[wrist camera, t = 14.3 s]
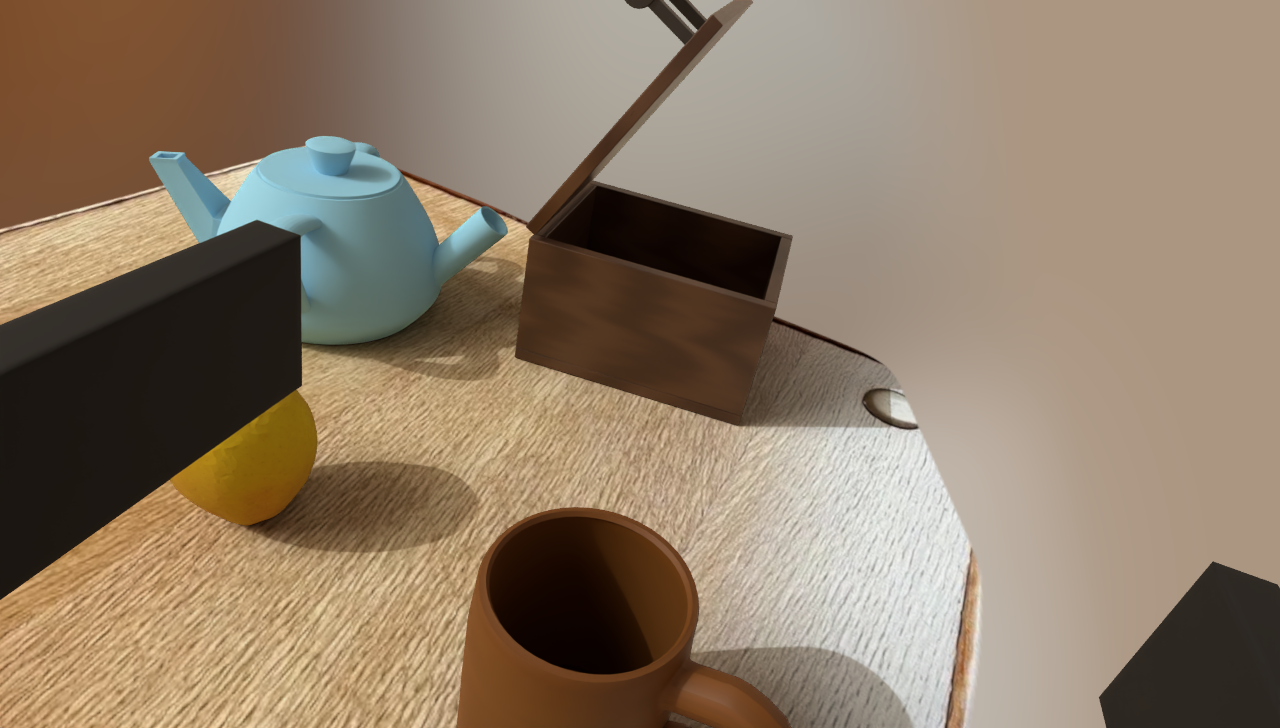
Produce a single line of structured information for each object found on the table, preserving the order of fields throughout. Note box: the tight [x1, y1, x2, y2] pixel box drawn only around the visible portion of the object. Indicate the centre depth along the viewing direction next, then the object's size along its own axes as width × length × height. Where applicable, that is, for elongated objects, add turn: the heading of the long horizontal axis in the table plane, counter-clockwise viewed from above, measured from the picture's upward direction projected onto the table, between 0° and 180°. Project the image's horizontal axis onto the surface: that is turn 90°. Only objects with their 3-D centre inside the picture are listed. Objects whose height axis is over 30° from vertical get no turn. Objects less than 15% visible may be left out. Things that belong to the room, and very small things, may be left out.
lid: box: [526, 0, 753, 235], centre depth 49 cm, size 16×13×6 cm
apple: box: [170, 390, 317, 525], centre depth 36 cm, size 6×6×8 cm
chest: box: [515, 181, 793, 425], centre depth 55 cm, size 16×13×9 cm
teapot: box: [149, 136, 508, 345], centre depth 52 cm, size 15×17×11 cm
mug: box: [457, 507, 791, 728], centre depth 27 cm, size 12×8×9 cm, turn 57°
